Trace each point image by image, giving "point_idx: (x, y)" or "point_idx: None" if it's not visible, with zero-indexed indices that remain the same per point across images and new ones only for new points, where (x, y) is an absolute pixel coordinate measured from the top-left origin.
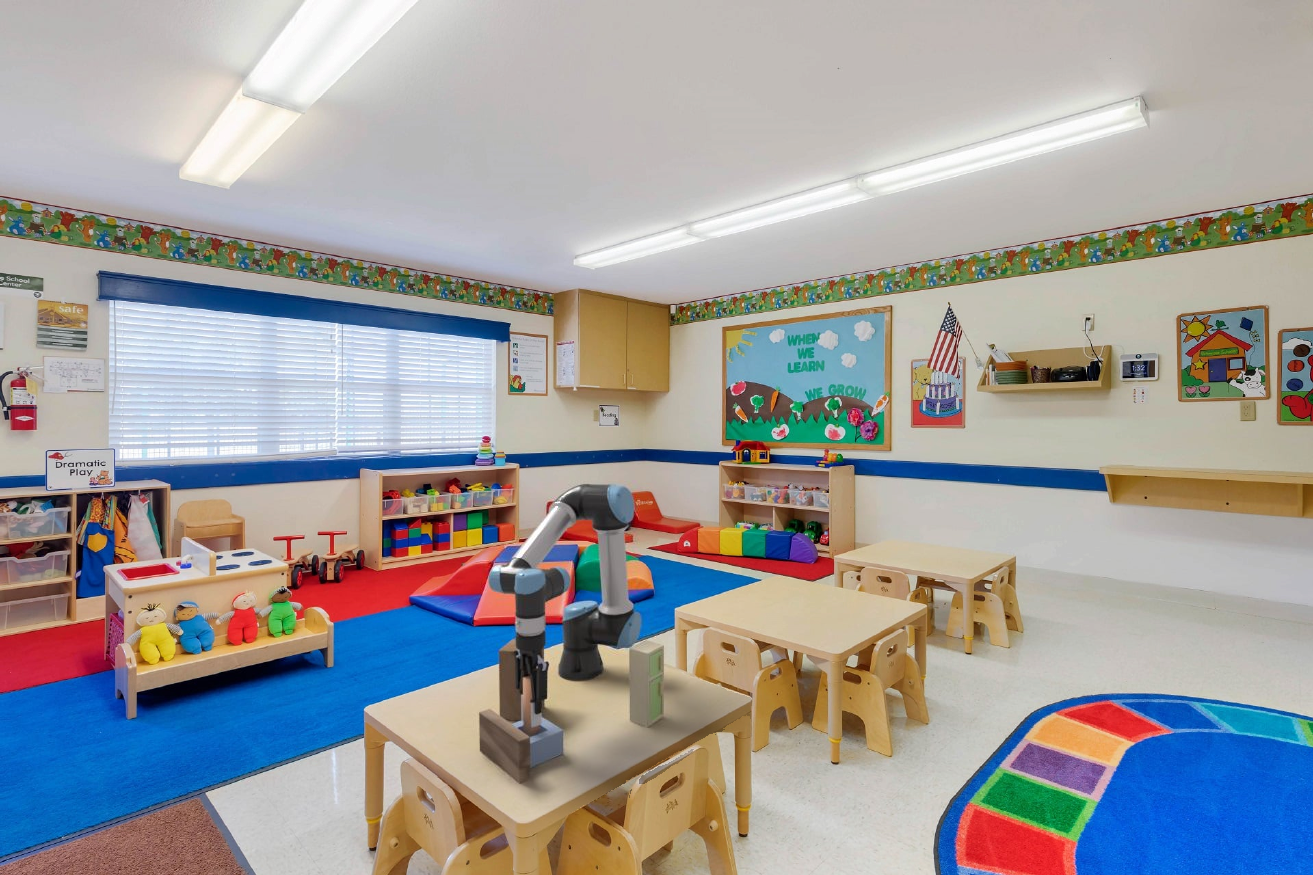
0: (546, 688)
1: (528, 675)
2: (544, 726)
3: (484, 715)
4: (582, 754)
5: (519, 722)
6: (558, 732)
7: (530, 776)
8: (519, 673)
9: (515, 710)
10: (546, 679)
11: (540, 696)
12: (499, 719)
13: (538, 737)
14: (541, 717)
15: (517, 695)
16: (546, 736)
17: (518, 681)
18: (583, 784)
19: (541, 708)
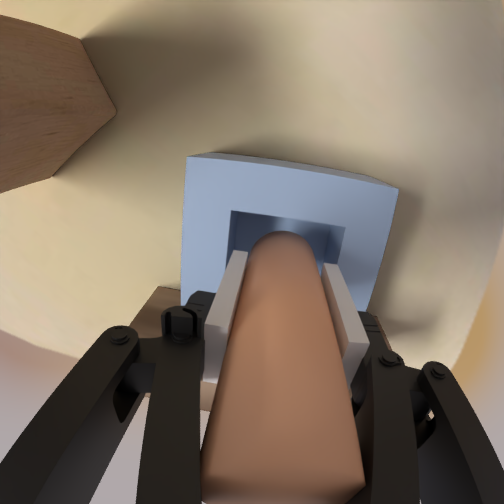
0: (474, 425)
1: (200, 483)
2: (307, 214)
3: (146, 394)
4: (416, 144)
5: (192, 258)
6: (393, 212)
7: (377, 319)
8: (98, 464)
9: (60, 151)
10: (500, 483)
11: (432, 425)
12: (212, 393)
13: (354, 288)
14: (343, 279)
15: (28, 151)
16: (376, 266)
17: (128, 423)
18: (486, 253)
19: (378, 329)
